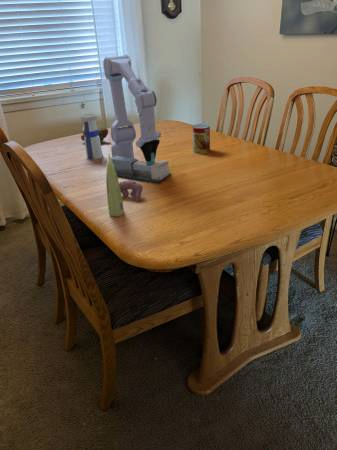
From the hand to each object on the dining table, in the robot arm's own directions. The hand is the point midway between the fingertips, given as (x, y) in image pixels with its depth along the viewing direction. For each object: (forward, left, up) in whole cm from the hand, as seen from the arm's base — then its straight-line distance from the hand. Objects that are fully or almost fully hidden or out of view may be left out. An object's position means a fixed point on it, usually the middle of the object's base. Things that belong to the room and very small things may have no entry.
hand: (150, 159), depth 148 cm
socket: (+4, 0, -7) cm, 9 cm away
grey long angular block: (-6, 0, -7) cm, 10 cm away
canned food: (+4, +38, -8) cm, 39 cm away
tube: (+7, -32, -8) cm, 34 cm away
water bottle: (-40, +12, -8) cm, 43 cm away
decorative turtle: (-55, +31, -8) cm, 64 cm away
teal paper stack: (-4, 0, -5) cm, 6 cm away
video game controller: (+3, -20, -8) cm, 22 cm away
